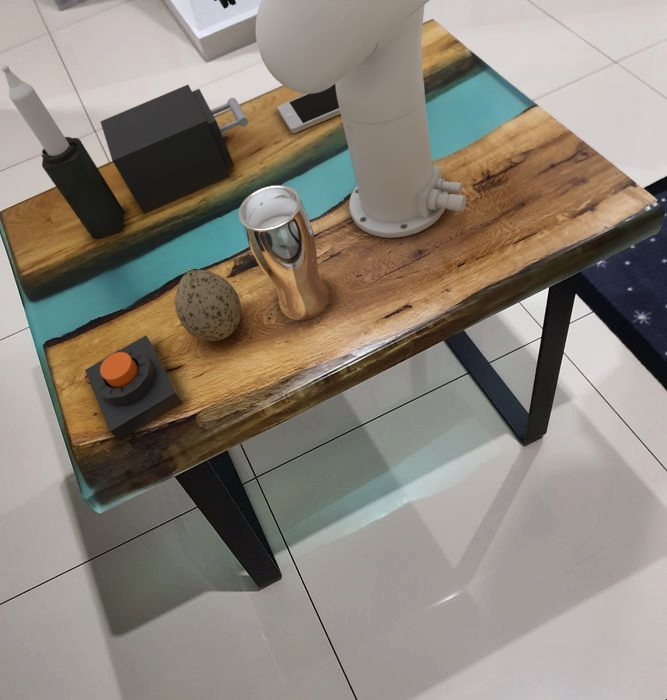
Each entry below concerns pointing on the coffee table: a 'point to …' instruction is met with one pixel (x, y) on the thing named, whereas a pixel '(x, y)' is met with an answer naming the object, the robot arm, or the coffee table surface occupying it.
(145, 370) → the block
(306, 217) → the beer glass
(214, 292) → the decorative egg
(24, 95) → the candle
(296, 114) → the smartphone
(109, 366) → the button
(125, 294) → the coffee table surface
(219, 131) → the fryer drawer
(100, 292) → the coffee table surface
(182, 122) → the fryer
